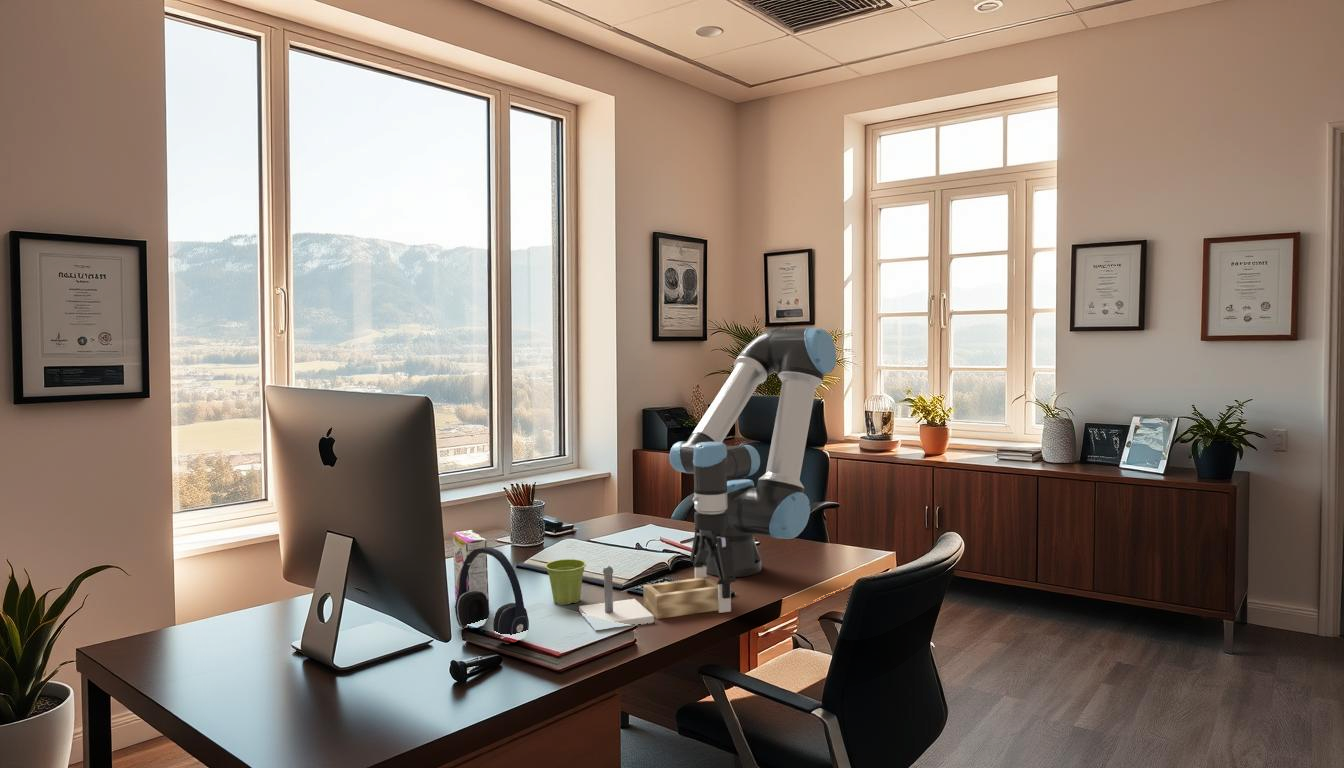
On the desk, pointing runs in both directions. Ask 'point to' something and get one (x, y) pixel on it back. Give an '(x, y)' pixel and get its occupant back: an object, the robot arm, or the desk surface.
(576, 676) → the desk surface
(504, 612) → the headphones
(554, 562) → the plant pot
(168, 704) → the desk surface
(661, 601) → the wooden planter box
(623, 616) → the peg stand
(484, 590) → the candy bar box
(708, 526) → the robot arm
